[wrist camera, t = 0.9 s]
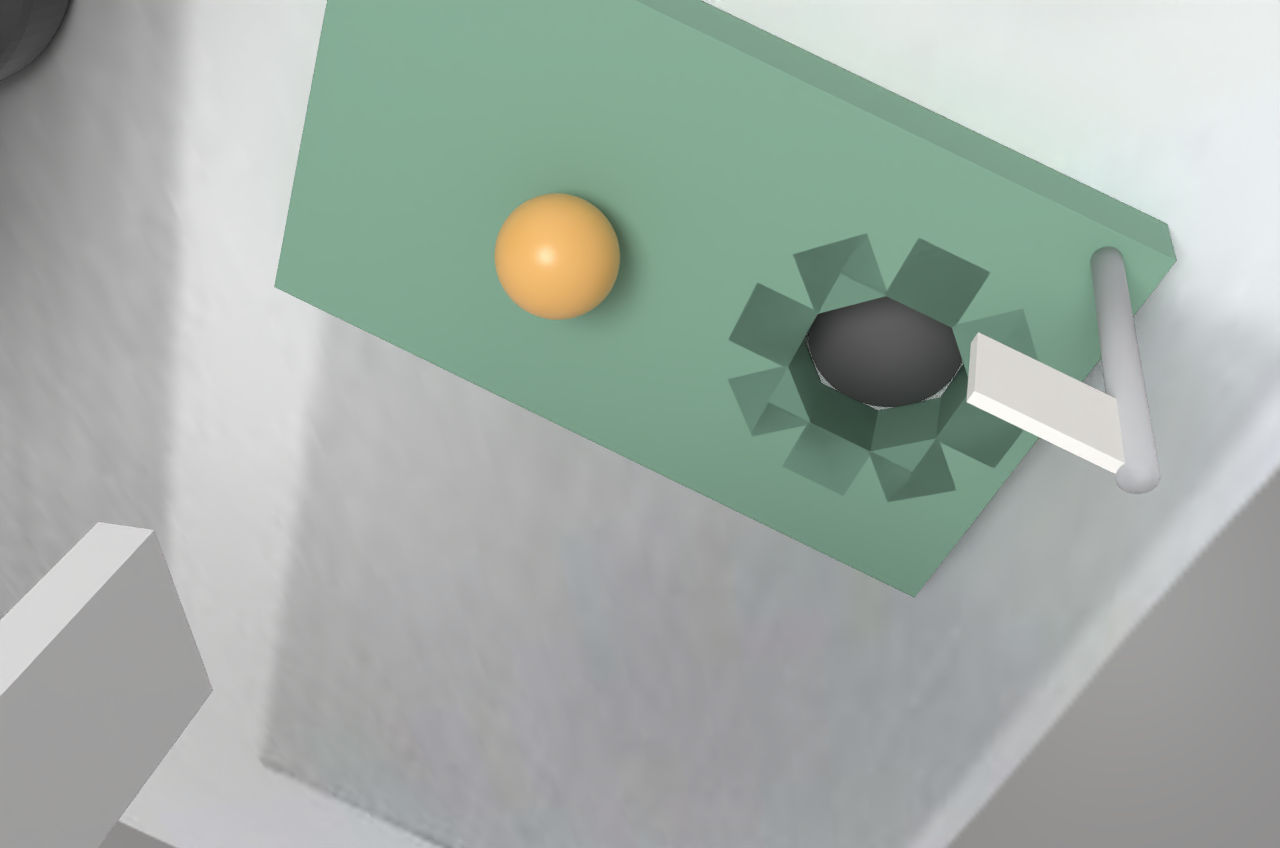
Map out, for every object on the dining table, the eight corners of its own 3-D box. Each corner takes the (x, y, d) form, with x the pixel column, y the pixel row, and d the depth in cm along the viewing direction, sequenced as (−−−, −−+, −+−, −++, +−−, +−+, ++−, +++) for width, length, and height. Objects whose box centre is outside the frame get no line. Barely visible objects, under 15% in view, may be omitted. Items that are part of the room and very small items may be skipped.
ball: (507, 254, 35) (460, 307, 32) (540, 153, 33) (494, 200, 30) (611, 305, 35) (574, 362, 32) (652, 207, 33) (616, 260, 30)
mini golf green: (310, 256, 40) (75, 451, 30) (392, -148, 32) (104, -63, 22) (919, 552, 40) (885, 847, 30) (1167, 224, 31) (1234, 482, 21)
